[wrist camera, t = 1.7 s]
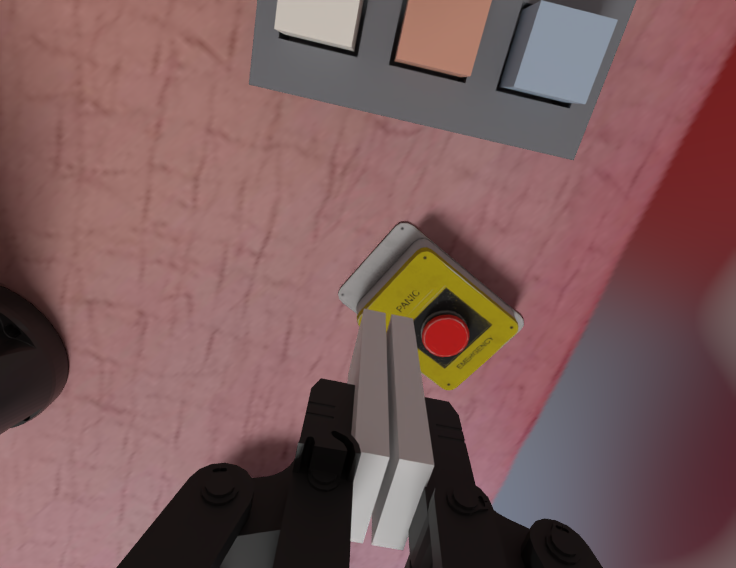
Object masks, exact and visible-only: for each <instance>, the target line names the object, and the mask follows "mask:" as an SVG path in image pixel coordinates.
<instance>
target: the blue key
mask: <svg viewBox="0 0 736 568" xmlns="http://www.w3.org/2000/svg"><path fill="white" fill-rule="evenodd" d="M617 21H618V20H617V19H613V18H609V17H605V16H601V15H597V14H593V13H590V12H586V11H582V10H578V9H574V8H570V7H566V6H562V5H558V4H555V3H551V2H547V1H543V0H541V1H539V2H537V3H535V4H533V5H531V6H529V7H527V8H525V9H523V10H522V13H521V17H520V20H519V23H518V26H517V30H516V33H515V36H514V39H513V43H512V46H511V49H510V52H509V56H508V59H507V62H506V65H505V69H504V72H503V75H502V78H501V82H500V85H499V87H502V88H506V89H511V90H515V91H519V92H523V93H527V94H531V95H535V96H539V97H544V98H548V99H552V100H556V101H560V102H566V103H577V104H586V102H587V99H588V96H589V94H590V91H591V89H592V86H593V83H594V81H595V78H596V76H597V73H598V70H599V68H600V65H601V63H602V60H603V57H604V55H605V52H606V50H607V47H608V44H609V42H610V39H611V37H612V34H613V31H614V29H615V26H616V24H617Z"/></svg>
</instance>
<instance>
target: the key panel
mask: <svg viewBox="0 0 736 568" xmlns="http://www.w3.org/2000/svg"><path fill="white" fill-rule="evenodd" d="M539 1H541V0H492V2H491V5H490V9H489V12H488V16H487V20H486V23H485V27H484V30H483V34H482V37H481V41H480V44H479V48H478V52H477V55H476V59H475V62H474V66H473V69H472V73H471V76H470V77H457V76H453V75H449V74H444V73H440V72H436V71H432V70H428V69H424V68H420V67H416V66H411V65H407V64H403V63H399V62H395V61H394V60H395V55H396V51H397V46H398V41H399V37H400V32H401V27H402V23H403V18H404V14H405V9H406V4H407V0H364V2H363V7H362V13H361V18H360V24H359V29H358V35H357V40H356V46H355V51H349V50H345V49H341V48H337V47H333V46H329V45H325V44H321V43H316V42H312V41H308V40H304V39H300V38H296V37H292V36H287V35H285V34H283V33H281V32H279V31H277V30H275V29H274V26H275V18H276V9H277V0H257V9H256V19H255V29H254V39H253V49H252V59H251V69H250V79H249V85H253V86H258V87H262V88H266V89H270V90H275V91H279V92H283V93H288V94H292V95H296V96H300V97H305V98H309V99H313V100H318V101H322V102H326V103H330V104H335V105H339V106H343V107H348V108H352V109H356V110H360V111H365V112H369V113H373V114H378V115H382V116H386V117H390V118H395V119H399V120H403V121H408V122H412V123H416V124H420V125H425V126H429V127H433V128H438V129H442V130H446V131H450V132H455V133H459V134H463V135H468V136H472V137H476V138H480V139H485V140H489V141H493V142H497V143H502V144H506V145H510V146H515V147H519V148H523V149H527V150H532V151H536V152H540V153H545V154H549V155H553V156H557V157H562V158H566V159H570V160H574V158H575V155H576V153H577V150H578V148H579V145H580V143H581V140H582V137H583V135H584V132H585V130H586V127H587V125H588V122H589V120H590V117H591V115H592V112H593V109H594V107H595V104H596V102H597V99H598V97H599V94H600V92H601V89H602V87H603V84H604V81H605V79H606V76H607V74H608V71H609V69H610V66H611V64H612V61H613V59H614V56H615V53H616V51H617V48H618V46H619V43H620V41H621V38H622V36H623V33H624V31H625V28H626V25H627V23H628V20H629V18H630V15H631V13H632V10H633V8H634V5H635V3H636V0H543V1H547V2H551V3H555V4H558V5H562V6H566V7H570V8H574V9H578V10H582V11H586V12H590V13H593V14H597V15H601V16H605V17H609V18H613V19H617V20H618V21H617V24H616V26H615V29H614V31H613V34H612V37H611V39H610V42H609V44H608V47H607V50H606V52H605V55H604V57H603V60H602V63H601V65H600V68H599V70H598V73H597V76H596V78H595V81H594V83H593V86H592V89H591V91H590V94H589V96H588V99H587V102H586V104H577V103H566V102H560V101H556V100H552V99H548V98H544V97H539V96H535V95H531V94H527V93H523V92H519V91H515V90H511V89H506V88H502V87H499V85H500V82H501V78H502V75H503V72H504V69H505V65H506V62H507V59H508V56H509V52H510V49H511V46H512V43H513V39H514V36H515V33H516V30H517V26H518V23H519V20H520V17H521V13H522V10H523V9H525V8H527V7H529V6H531V5H533V4H535V3H537V2H539Z"/></svg>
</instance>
